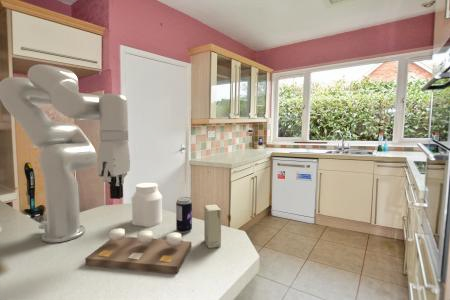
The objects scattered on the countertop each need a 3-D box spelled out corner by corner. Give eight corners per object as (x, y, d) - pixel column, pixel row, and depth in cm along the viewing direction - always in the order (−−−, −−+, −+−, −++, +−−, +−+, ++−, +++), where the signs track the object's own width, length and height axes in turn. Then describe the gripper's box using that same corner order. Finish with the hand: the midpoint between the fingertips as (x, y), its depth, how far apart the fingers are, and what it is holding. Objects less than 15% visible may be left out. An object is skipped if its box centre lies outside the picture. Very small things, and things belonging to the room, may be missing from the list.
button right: (164, 244, 71) (164, 238, 71) (169, 238, 76) (169, 231, 75) (178, 246, 71) (178, 239, 70) (183, 239, 75) (183, 232, 75)
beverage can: (188, 234, 87) (188, 201, 86) (173, 233, 88) (173, 200, 87) (194, 228, 93) (194, 197, 92) (179, 226, 94) (179, 196, 93)
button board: (85, 265, 67) (85, 257, 67) (114, 241, 81) (114, 235, 81) (177, 273, 64) (177, 265, 64) (191, 247, 78) (191, 241, 78)
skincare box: (221, 247, 79) (221, 209, 77) (208, 248, 77) (208, 211, 76) (216, 238, 85) (216, 203, 84) (203, 239, 84) (204, 204, 82)
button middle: (134, 242, 72) (134, 236, 72) (141, 236, 77) (141, 229, 76) (148, 243, 72) (148, 237, 72) (155, 237, 76) (155, 230, 76)
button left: (106, 240, 73) (106, 233, 73) (114, 234, 78) (114, 227, 78) (120, 241, 73) (119, 234, 73) (127, 235, 77) (127, 228, 77)
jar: (127, 224, 96) (126, 186, 94) (142, 215, 105) (142, 181, 103) (152, 228, 92) (152, 189, 91) (166, 219, 101) (166, 183, 100)
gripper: (116, 136, 80) (118, 191, 82) (85, 138, 65) (88, 205, 67) (138, 136, 79) (140, 192, 81) (111, 138, 64) (114, 206, 66)
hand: (116, 197), depth 74 cm, fingers closed
